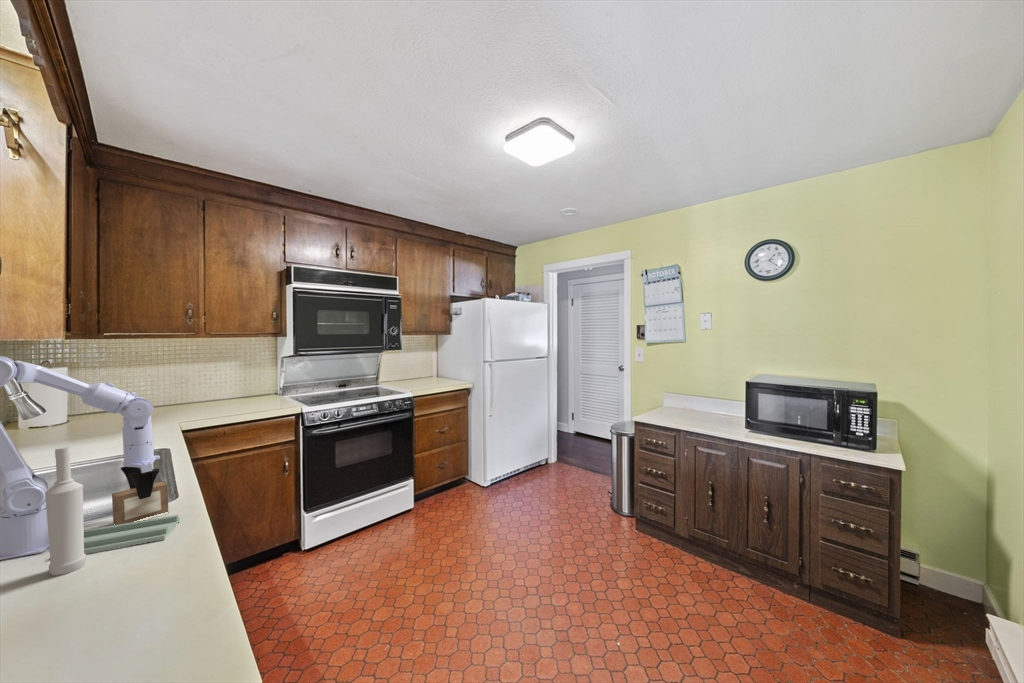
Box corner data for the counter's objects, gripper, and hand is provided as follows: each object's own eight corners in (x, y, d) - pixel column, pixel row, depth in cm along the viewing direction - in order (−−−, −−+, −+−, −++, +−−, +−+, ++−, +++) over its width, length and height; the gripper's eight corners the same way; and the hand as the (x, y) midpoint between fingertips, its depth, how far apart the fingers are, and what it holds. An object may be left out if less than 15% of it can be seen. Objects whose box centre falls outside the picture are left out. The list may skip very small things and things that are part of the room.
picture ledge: (58, 559, 85) (58, 549, 85) (85, 537, 95) (84, 528, 94) (164, 539, 93) (164, 530, 93) (180, 521, 102) (179, 513, 102)
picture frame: (116, 529, 99) (115, 497, 99) (113, 524, 101) (111, 493, 101) (168, 513, 107) (167, 484, 107) (164, 510, 109) (162, 481, 109)
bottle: (61, 577, 79) (55, 452, 78) (41, 575, 80) (35, 451, 79) (93, 562, 84) (88, 444, 83) (74, 560, 85) (69, 443, 84)
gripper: (166, 443, 103) (169, 495, 103) (151, 435, 111) (153, 483, 112) (129, 450, 97) (132, 505, 97) (115, 441, 106) (118, 492, 106)
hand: (141, 494), depth 104 cm, fingers open, 7 cm apart
